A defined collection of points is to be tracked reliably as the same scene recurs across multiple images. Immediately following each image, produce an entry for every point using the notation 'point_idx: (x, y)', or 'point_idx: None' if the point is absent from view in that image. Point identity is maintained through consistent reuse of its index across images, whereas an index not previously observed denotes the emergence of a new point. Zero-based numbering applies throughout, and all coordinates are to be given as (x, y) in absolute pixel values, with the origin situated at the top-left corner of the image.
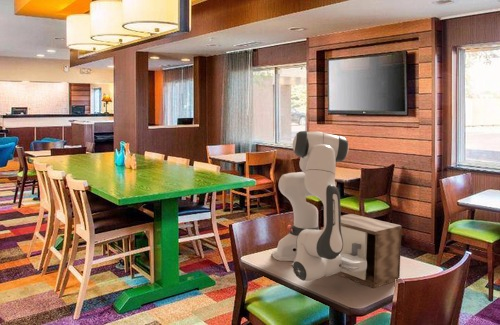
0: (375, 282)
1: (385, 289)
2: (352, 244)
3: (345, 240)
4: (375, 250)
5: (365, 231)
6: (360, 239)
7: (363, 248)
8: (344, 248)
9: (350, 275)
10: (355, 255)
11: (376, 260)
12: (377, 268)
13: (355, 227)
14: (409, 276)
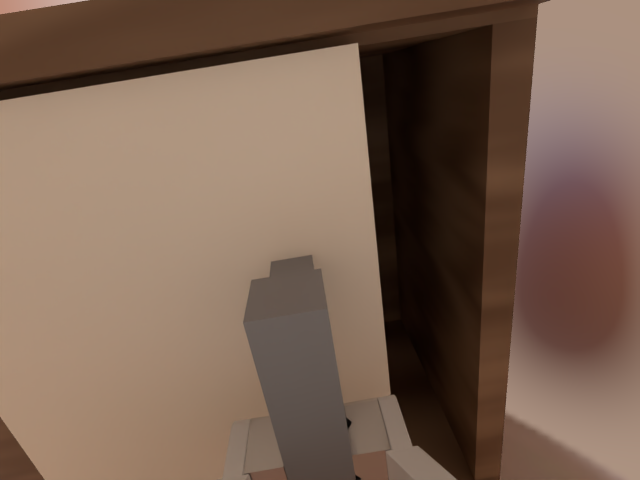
0: (489, 476)
1: (557, 466)
2: (264, 332)
3: (34, 310)
4: (489, 239)
5: (382, 6)
6: (285, 194)
7: (357, 286)
8: (69, 398)
9: None
10: (370, 456)
11: (502, 326)
12: (504, 381)
13: (136, 17)
14: None
